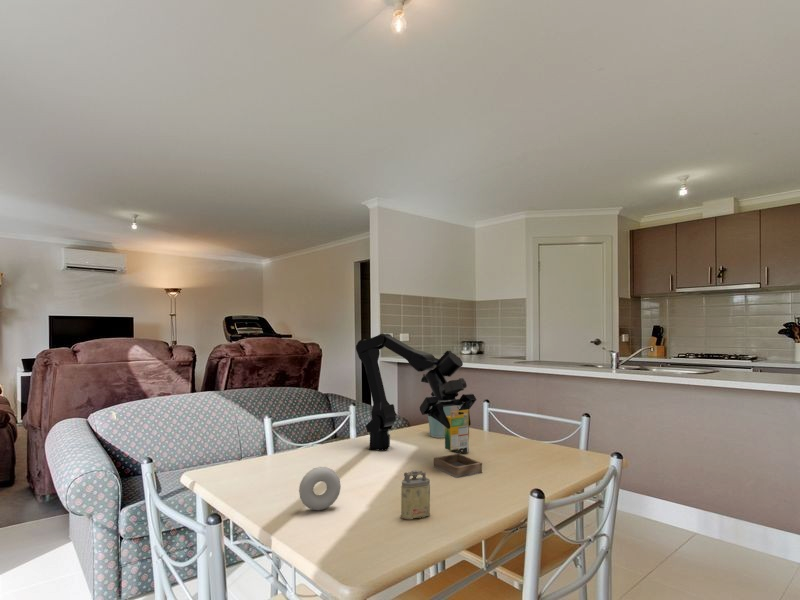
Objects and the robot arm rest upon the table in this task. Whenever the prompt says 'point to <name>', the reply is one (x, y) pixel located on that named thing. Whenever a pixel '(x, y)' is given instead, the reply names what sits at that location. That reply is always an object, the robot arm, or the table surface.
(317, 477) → the donut
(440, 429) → the disposable coffee cup
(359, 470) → the table surface
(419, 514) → the lighter
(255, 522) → the table surface
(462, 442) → the crayon box
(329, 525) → the table surface
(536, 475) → the table surface
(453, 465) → the tray
